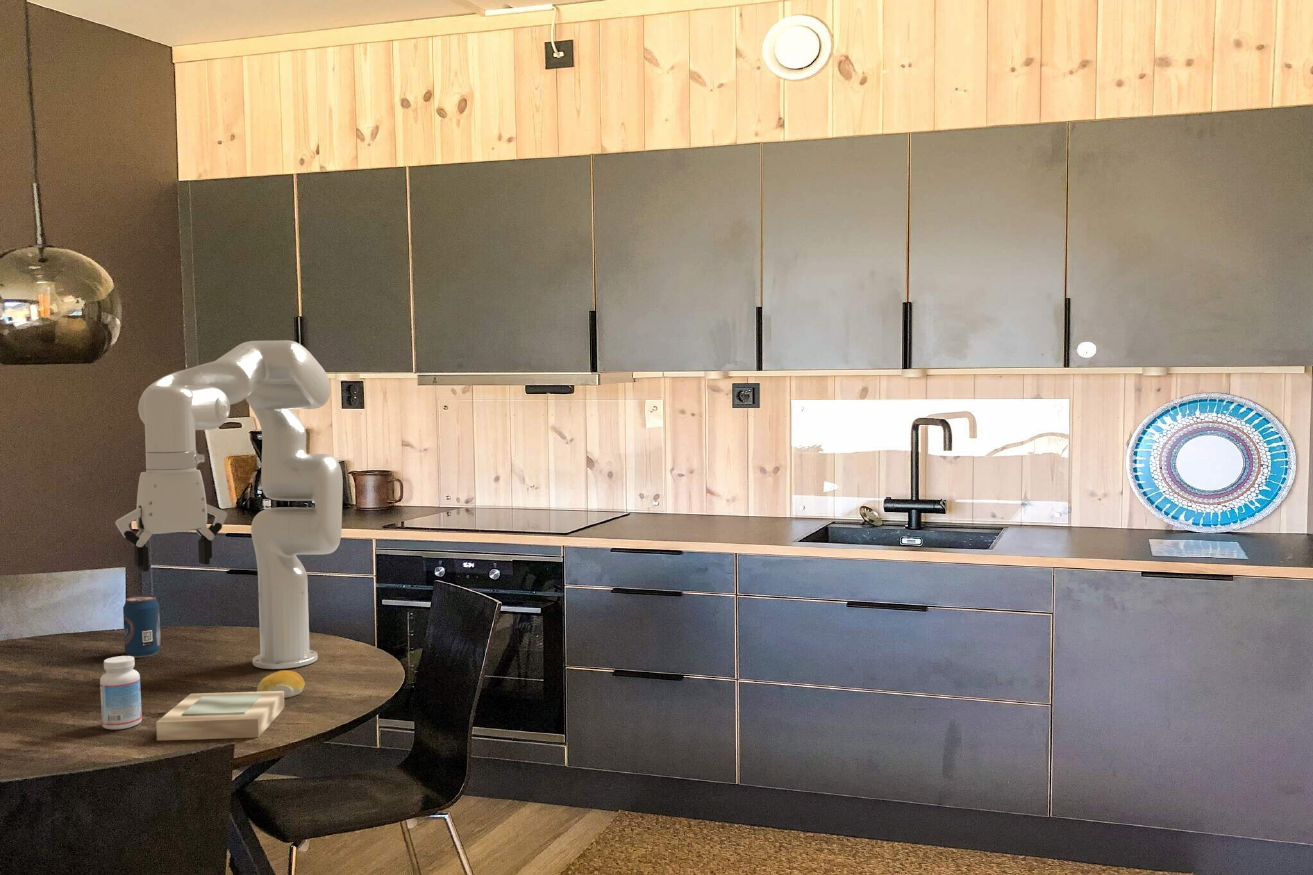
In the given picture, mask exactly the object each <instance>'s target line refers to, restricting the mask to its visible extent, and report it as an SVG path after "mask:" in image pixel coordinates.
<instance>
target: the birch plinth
mask: <svg viewBox="0 0 1313 875" xmlns="http://www.w3.org/2000/svg"><path fill="white" fill-rule="evenodd" d="M284 709H285V698H284V691H264V692H257V691H239V692H237V691H236V692H231V691H230V692H208V693H207V692H203V693H190V694H188V695H187V696H186V697H185V698H184V699H183V700H181V701H180V702H179V703H177V705H175V706H173V707H172V709H170V710H169V711H168V712H166V714H164V715H163V716H162V717H161V718H159V719H158V720H157V721H156V722H155V724H156V725H155V726H156V728H155V729H156V741H180V740H181V741H182V740H183V741H186V740H189V741H190V740H208V739H209V740H212V739H213V740H214V739H215V740H216V739H217V740H218V739H244V738H249V739H250V738H259V737H260V736H261V735H262V734H263V733H264V732H265V730H267V728H269V726H270V725H271V724H272V723H273V722H274V720H275V719H276V718H277V717H278V716H279V715H280V714H281V712H282V711H283V710H284Z"/></svg>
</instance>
